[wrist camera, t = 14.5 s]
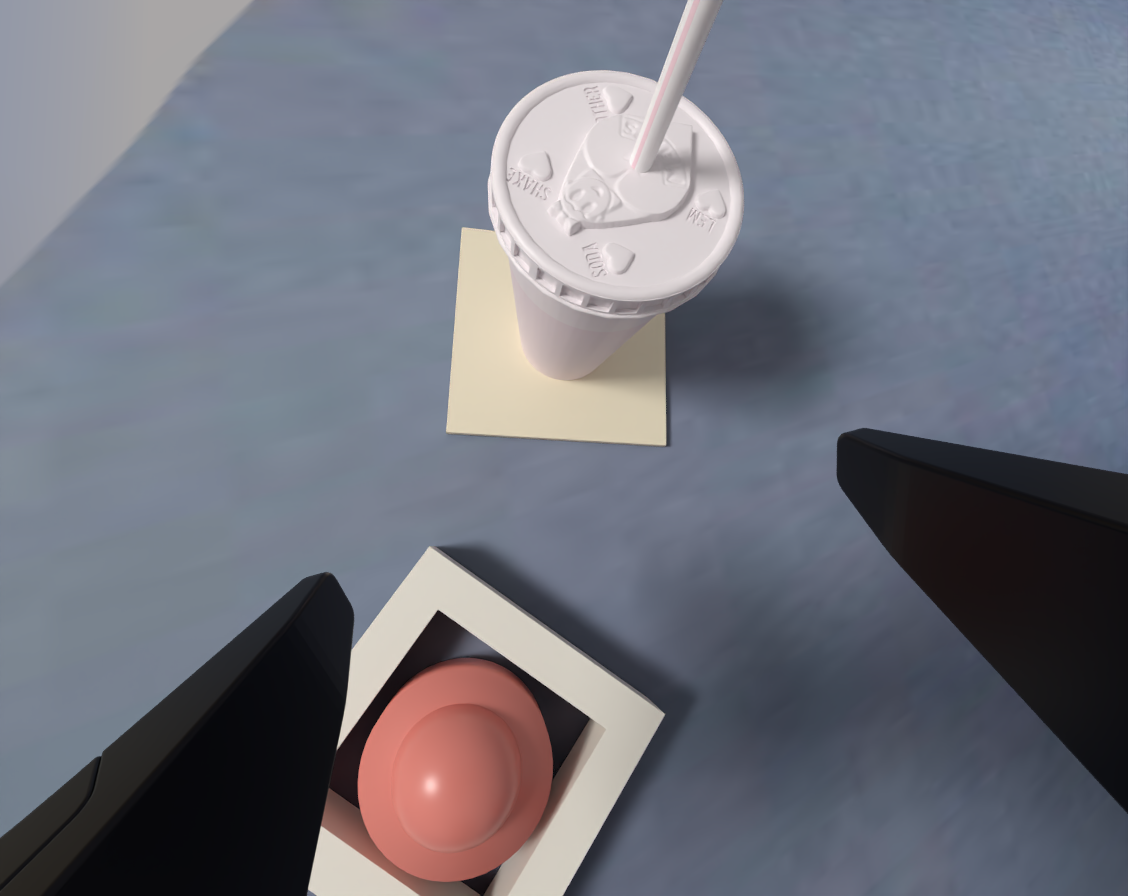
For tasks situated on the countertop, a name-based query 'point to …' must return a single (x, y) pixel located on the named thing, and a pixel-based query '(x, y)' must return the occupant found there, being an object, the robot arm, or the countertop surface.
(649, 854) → the countertop surface
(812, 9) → the countertop surface
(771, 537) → the countertop surface
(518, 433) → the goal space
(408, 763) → the dome
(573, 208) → the smoothie
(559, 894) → the dome base
